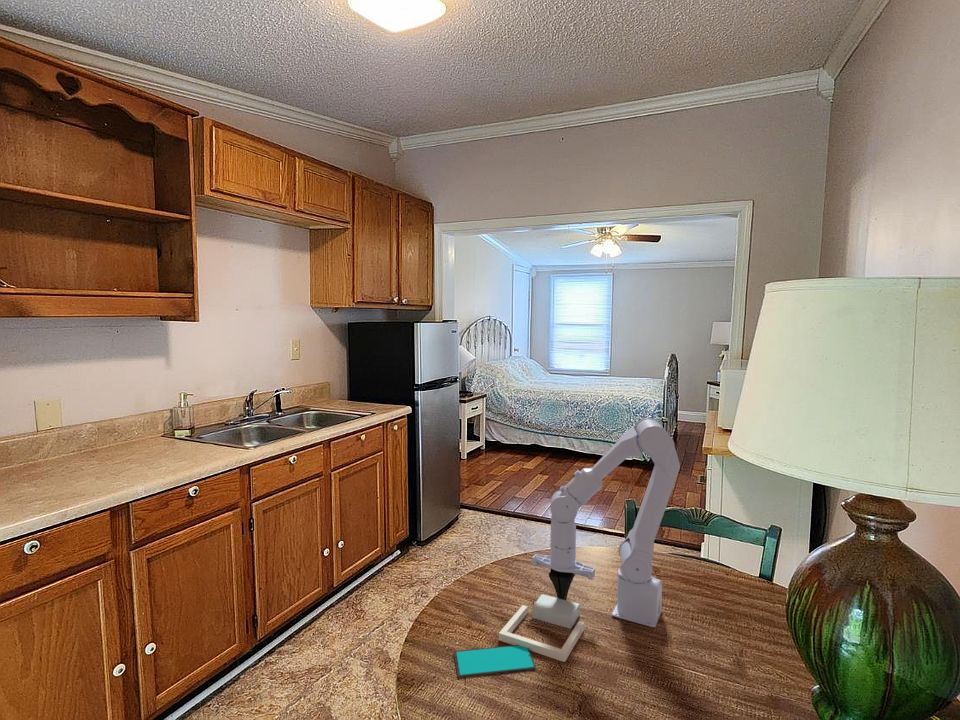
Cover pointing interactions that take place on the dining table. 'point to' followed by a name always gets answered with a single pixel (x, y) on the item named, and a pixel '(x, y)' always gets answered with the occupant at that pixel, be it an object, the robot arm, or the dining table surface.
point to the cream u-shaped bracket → (537, 646)
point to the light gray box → (556, 611)
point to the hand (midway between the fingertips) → (562, 600)
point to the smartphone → (493, 661)
